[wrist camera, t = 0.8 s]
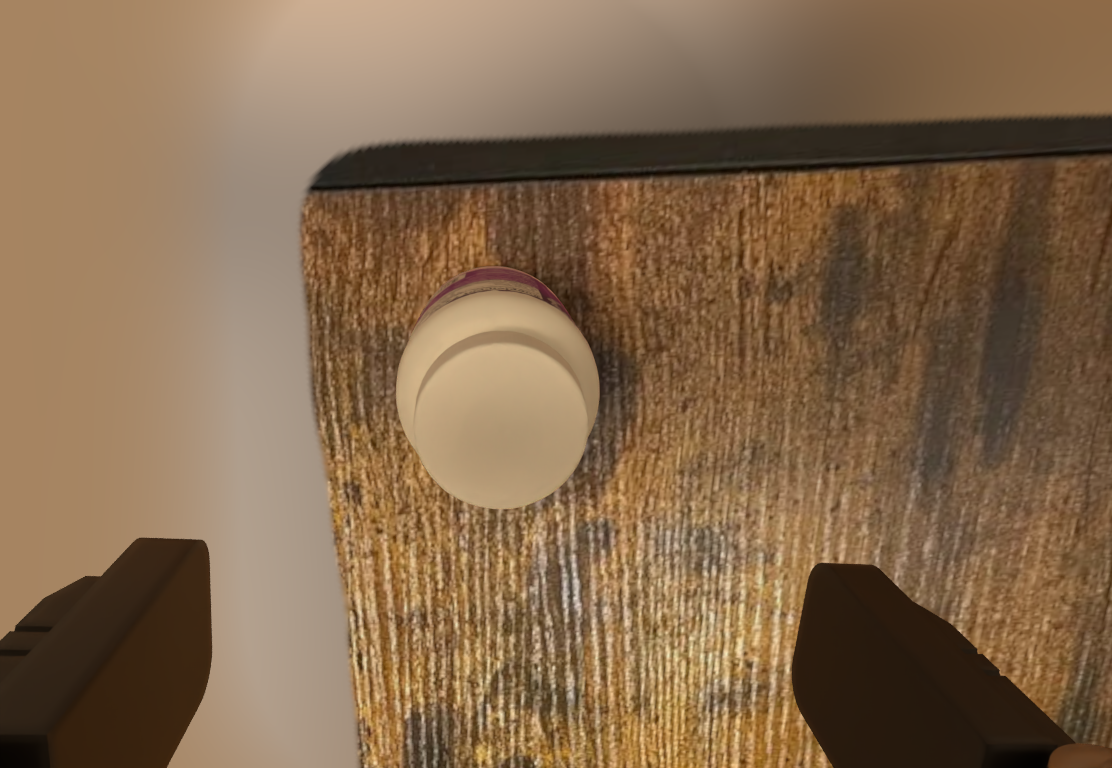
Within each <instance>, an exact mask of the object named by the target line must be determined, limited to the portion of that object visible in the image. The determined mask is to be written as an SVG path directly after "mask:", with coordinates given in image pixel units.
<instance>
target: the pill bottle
mask: <svg viewBox="0 0 1112 768" xmlns="http://www.w3.org/2000/svg"><path fill="white" fill-rule="evenodd" d="M599 396H600V390H599V377H598V371H597V366H596V363H595V360H594V356H593V353H592V351H591V349H590V346H589V344H588V342H587V341H586V339H585V337H584V336H583V334H582V333H581V331H580V330H579V329H578V327H577V326H576V324H575V323H574V321H573V319H572V318H571V316H570V315H569V313H568V312H567V310H566V309H565V307H564V306H563V304H562V303H561V302H560V300H559V299H558V298H557V297H556V295H555V294H554V293H553V292H552V291H551V290H550V289H549V288H548V287H547V286H546V285H544V284H543V283H542V282H541V281H540V280H538V279H536V278H535V277H533V276H531V275H529V274H527V273H525V272H522V271H519V270H516V269H513V268H509V267H502V266H485V267H480V268H474V269H471V270H468V271H465V272H463V273H460V274H458V275H456V276H455V277H453V278H451V279H450V280H448V281H447V282H446V283H444V284H443V285H442V286H441V287H440V288H439V289H438V290H437V291H436V292H435V293H434V294H433V296H432V297H431V298H430V300H429V301H428V303H427V304H426V306H425V308H424V309H423V311H422V313H421V315H420V317H419V319H418V321H417V323H416V325H415V327H414V329H413V332H412V334H411V336H410V339H409V341H408V343H407V346H406V348H405V350H404V352H403V354H402V357H401V360H400V364H399V368H398V373H397V383H396V402H397V410H398V414H399V418H400V421H401V425H402V427H403V430H404V432H405V435H406V437H407V439H408V440H409V442H410V444H411V445H412V447H413V448H414V450H415V451H416V452H417V454H418V455H419V457H420V460H421V462H422V464H423V466H424V467H425V469H426V470H427V472H428V473H429V475H430V476H431V477H432V478H433V479H434V481H435V482H436V483H437V484H438V485H439V486H440V487H441V488H443V489H444V490H445V491H446V492H448V493H449V494H451V495H452V496H454V497H456V498H457V499H459V500H461V501H464V502H466V503H468V504H471V505H474V506H478V507H483V508H490V509H512V508H518V507H522V506H526V505H528V504H531V503H534V502H537V501H539V500H541V499H543V498H545V497H546V496H548V495H550V494H551V493H553V492H554V491H555V490H556V489H558V488H559V487H560V486H561V485H562V484H564V483H565V481H566V480H567V479H568V478H569V477H570V476H571V474H572V473H573V471H574V470H575V469H576V467H577V465H578V463H579V462H580V460H581V457H582V455H583V452H584V450H585V446H586V442H587V438H588V436H589V434H590V432H591V430H592V428H593V425H594V422H595V419H596V415H597V411H598V405H599Z"/></svg>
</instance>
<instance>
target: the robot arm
mask: <svg viewBox="0 0 1112 768" xmlns="http://www.w3.org/2000/svg"><path fill="white" fill-rule="evenodd" d="M211 659H212V628H211V595H210V561H209V552H208V548H207V545H206V543H205V542H204V541H203V540H192V539H163V538H139V539H136V540H135V541H134V542H133V543H132V544H131V545H130V546H129V547H128V548H127V549H126V550H125V551H124V552H123V554H122V555H121V556H120V557H119V558H118V559H117V560H116V561H115V562H114V563H113V564H112V565H111V566H110V568H108V569H107V570H106V572H105V573H104V574H103V575H102V576H101V577H100V576H99V577H97V576H85V577H83V578H81V579H79V580H77V581H75V582H74V583H72V584H70V585H68V586H66V587H64V588H62V589H61V590H59V591H57V592H55V593H53V594H51V595H49V596H47V597H45V598H44V599H43V600H42V601H41V602H40V603H39V604H37V606H35V607H34V608H33V609H32V610H31V611H30V612H29V613H28V614H27V615H26V616H25V617H24V618H23V619H22V620H21V621H20V622H19V623H18V624H17V625H16V627H15V631H14V632H11V631H10V632H9V633H8V634H7V635H6V636H5V637H4V638H3V639H1V640H0V768H167V766H168V764H169V762H170V760H171V758H172V756H173V754H174V752H175V751H176V749H177V747H178V745H179V743H180V741H181V739H182V737H183V736H184V734H185V732H186V730H187V728H188V726H189V724H190V722H191V720H192V718H193V717H194V715H195V712H196V711H197V709H198V707H199V705H200V703H201V701H202V699H203V696H204V693H205V690H206V687H207V683H208V679H209V674H210V668H211ZM999 671H1000V670H999V669H998V668H997V667H995V666H994V665H993V664H992V663H991V662H990V661H989V660H988V659H987V658H986V657H985V656H984V655H983V654H978V653H977V648H976V647H974V646H973V645H972V644H971V643H970V642H969V641H968V640H967V639H966V638H965V637H964V636H963V635H962V634H961V633H960V632H959V631H958V630H957V629H956V628H955V627H953V626H952V625H951V624H950V623H948V622H947V621H945V620H943V619H942V618H940V617H938V616H937V615H935V614H933V613H932V612H930V611H928V610H927V609H925V608H923V607H921V606H920V605H918V604H916V603H915V602H913V601H912V600H911V599H910V598H908V597H907V596H906V595H905V594H904V593H903V592H902V591H901V590H900V589H899V588H898V587H897V586H896V585H895V584H894V583H893V582H892V581H891V580H890V579H889V578H888V577H887V576H886V575H885V574H884V573H883V572H882V571H881V570H880V569H879V568H878V567H876V566H874V565H865V564H836V563H819V564H817V565H816V566H815V567H814V568H813V569H812V571H811V573H810V576H809V579H808V583H807V589H806V594H805V599H804V604H803V610H802V615H801V620H800V625H799V631H798V636H797V641H796V646H795V652H794V657H793V663H792V684H793V691H794V695H795V699H796V703H797V705H798V708H799V710H800V712H801V714H802V716H803V717H804V719H805V721H806V722H807V724H808V726H809V727H810V729H811V731H812V732H813V734H814V736H815V737H816V739H817V741H818V742H819V744H820V746H821V747H822V749H823V751H824V752H825V754H826V756H827V757H828V759H829V761H830V762H831V764H832V766H833V767H834V768H1112V748H1108V747H1103V746H1099V745H1092V744H1078V743H1075V742H1074V741H1073V740H1072V739H1071V738H1070V737H1069V736H1068V735H1067V734H1066V733H1065V732H1064V731H1063V730H1062V729H1061V728H1059V727H1058V726H1057V725H1056V724H1055V723H1054V722H1053V721H1052V720H1051V719H1050V718H1049V717H1048V716H1047V715H1046V714H1045V713H1044V712H1043V711H1042V710H1041V709H1040V708H1038V707H1037V706H1036V705H1035V704H1034V703H1033V702H1032V701H1031V700H1030V699H1029V698H1028V697H1027V696H1026V695H1025V694H1024V693H1023V692H1022V691H1021V690H1020V689H1019V688H1017V687H1016V686H1015V685H1014V684H1013V683H1012V682H1011V681H1010V680H1009V679H1008V678H1007V677H1006V676H1000V673H999Z"/></svg>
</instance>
